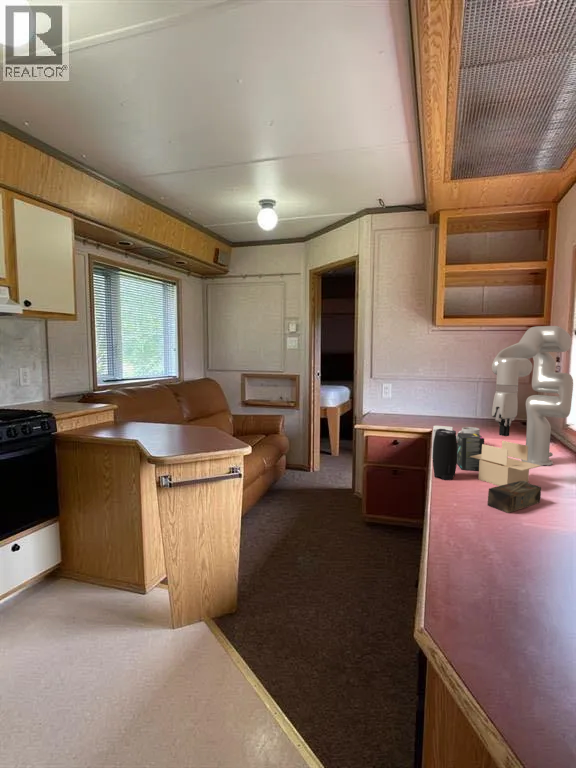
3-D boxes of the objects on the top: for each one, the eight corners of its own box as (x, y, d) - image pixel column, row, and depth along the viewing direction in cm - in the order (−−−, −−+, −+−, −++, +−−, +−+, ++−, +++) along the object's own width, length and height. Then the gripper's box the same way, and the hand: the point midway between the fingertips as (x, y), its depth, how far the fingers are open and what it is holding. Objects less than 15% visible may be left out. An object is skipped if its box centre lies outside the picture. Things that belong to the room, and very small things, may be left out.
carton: (488, 471, 176) (489, 452, 175) (541, 486, 157) (542, 465, 156) (467, 476, 169) (468, 456, 168) (520, 492, 150) (521, 470, 149)
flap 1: (482, 444, 163) (482, 444, 163) (508, 449, 154) (507, 449, 154) (481, 458, 163) (481, 458, 163) (507, 465, 154) (506, 465, 154)
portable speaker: (431, 473, 173) (433, 427, 171) (455, 475, 170) (457, 429, 168) (432, 479, 165) (433, 431, 163) (456, 481, 162) (458, 433, 160)
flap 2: (501, 454, 170) (502, 454, 170) (527, 460, 161) (527, 460, 161) (502, 440, 169) (502, 440, 169) (527, 445, 160) (528, 445, 160)
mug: (479, 446, 222) (480, 428, 221) (477, 449, 214) (478, 430, 213) (458, 443, 228) (459, 425, 227) (455, 446, 220) (456, 428, 219)
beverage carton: (541, 503, 140) (542, 484, 139) (508, 514, 130) (509, 494, 130) (518, 496, 147) (519, 478, 146) (485, 506, 137) (486, 487, 136)
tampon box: (483, 471, 175) (485, 438, 174) (461, 470, 177) (462, 437, 176) (477, 464, 186) (478, 433, 185) (456, 463, 188) (457, 432, 187)
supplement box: (431, 458, 196) (432, 428, 194) (432, 454, 204) (433, 425, 203) (451, 460, 192) (452, 429, 191) (451, 456, 200) (452, 426, 199)
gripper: (508, 388, 166) (506, 432, 167) (486, 389, 159) (483, 435, 160) (527, 389, 160) (524, 435, 161) (504, 390, 152) (501, 439, 154)
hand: (504, 435), depth 161 cm, fingers closed
